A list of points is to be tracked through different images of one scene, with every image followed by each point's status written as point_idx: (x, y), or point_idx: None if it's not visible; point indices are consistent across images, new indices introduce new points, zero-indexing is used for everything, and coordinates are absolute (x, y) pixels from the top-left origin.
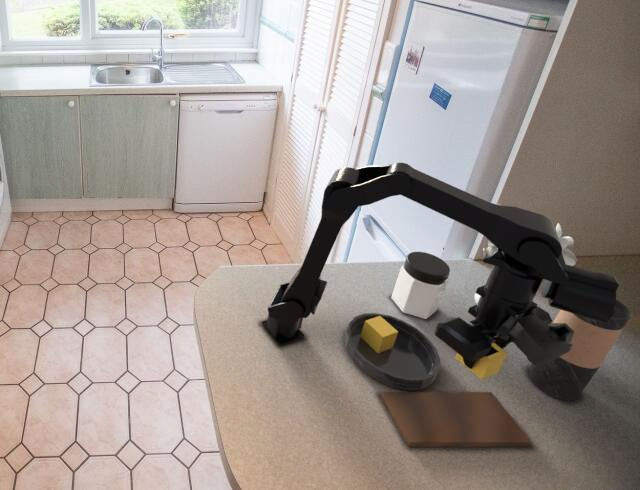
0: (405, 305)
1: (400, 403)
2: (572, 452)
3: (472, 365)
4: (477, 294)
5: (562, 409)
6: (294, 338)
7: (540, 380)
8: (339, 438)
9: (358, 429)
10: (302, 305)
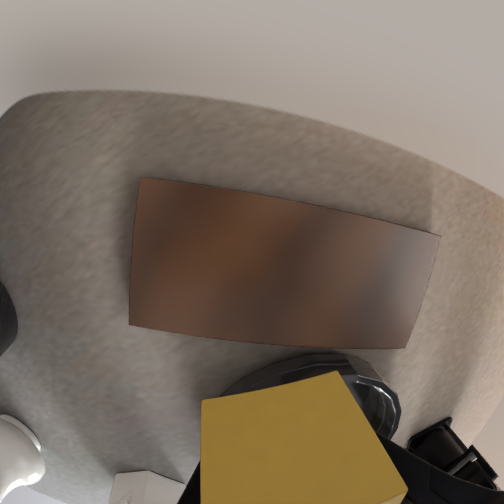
0: None
1: (394, 322)
2: (58, 154)
3: (379, 434)
4: (40, 479)
5: (4, 254)
6: (429, 432)
7: (5, 319)
8: (495, 267)
9: (471, 278)
10: (490, 476)
